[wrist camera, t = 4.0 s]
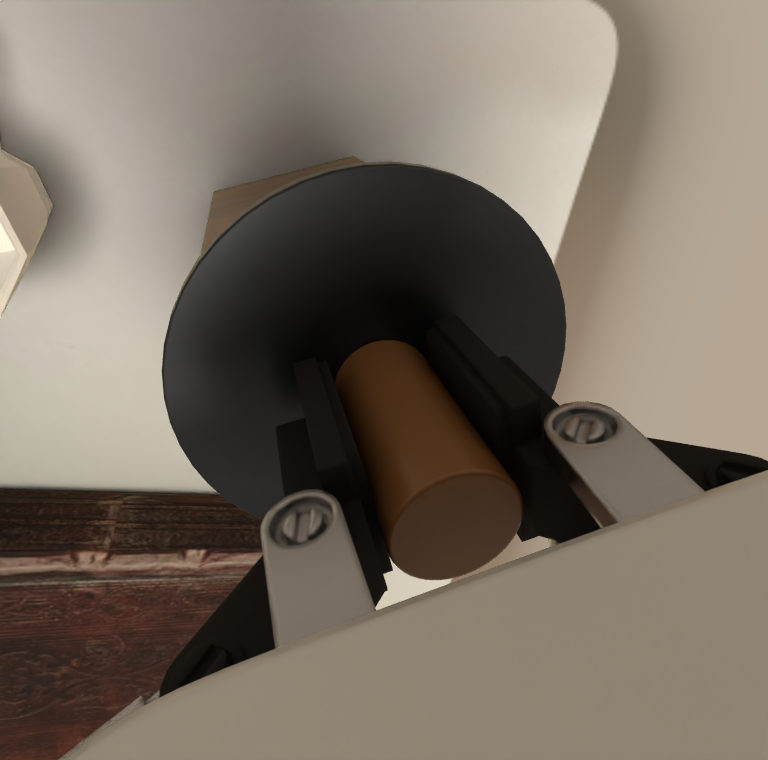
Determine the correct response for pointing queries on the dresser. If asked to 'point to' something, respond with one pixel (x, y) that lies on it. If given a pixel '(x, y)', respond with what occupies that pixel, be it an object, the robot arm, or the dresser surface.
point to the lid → (365, 347)
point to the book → (104, 602)
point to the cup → (19, 220)
